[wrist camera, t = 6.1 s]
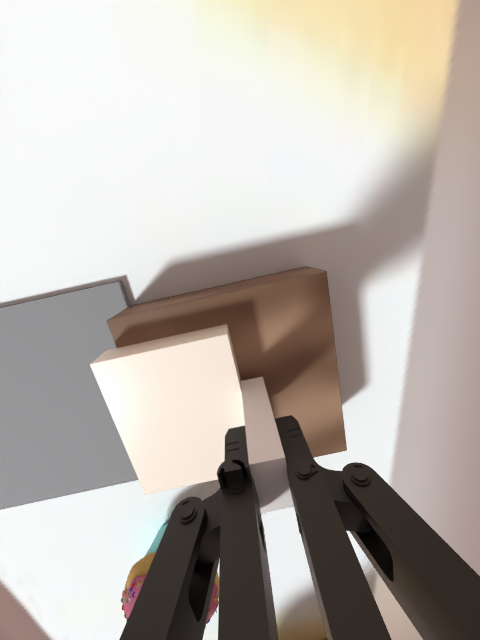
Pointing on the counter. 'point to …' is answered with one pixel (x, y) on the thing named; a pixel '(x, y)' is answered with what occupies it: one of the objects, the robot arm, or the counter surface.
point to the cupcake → (139, 574)
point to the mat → (58, 398)
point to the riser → (263, 342)
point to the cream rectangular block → (173, 404)
